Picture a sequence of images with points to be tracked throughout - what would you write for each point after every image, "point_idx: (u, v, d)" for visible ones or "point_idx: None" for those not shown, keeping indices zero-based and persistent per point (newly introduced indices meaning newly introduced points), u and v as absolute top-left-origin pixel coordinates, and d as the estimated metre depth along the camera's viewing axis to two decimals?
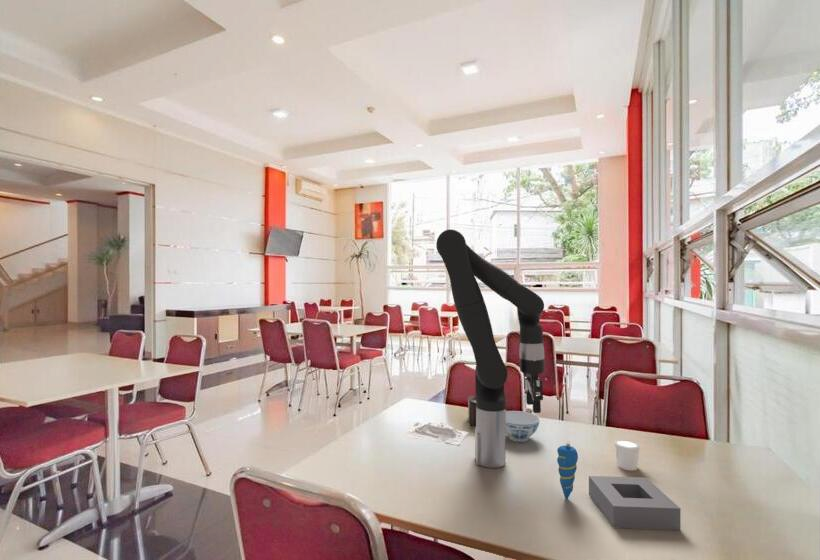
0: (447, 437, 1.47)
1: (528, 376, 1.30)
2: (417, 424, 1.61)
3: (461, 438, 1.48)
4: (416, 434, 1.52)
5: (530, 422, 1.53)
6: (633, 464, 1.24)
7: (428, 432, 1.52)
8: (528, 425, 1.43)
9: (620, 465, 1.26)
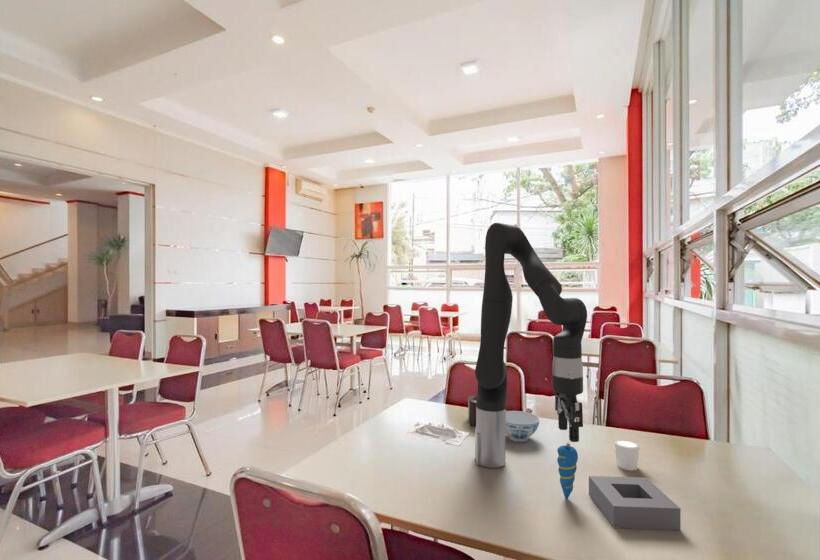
0: (448, 438, 1.47)
1: (562, 396, 1.09)
2: (418, 424, 1.61)
3: (462, 438, 1.48)
4: (416, 434, 1.51)
5: (530, 422, 1.53)
6: (633, 464, 1.24)
7: (429, 432, 1.51)
8: (528, 425, 1.43)
9: (620, 465, 1.26)
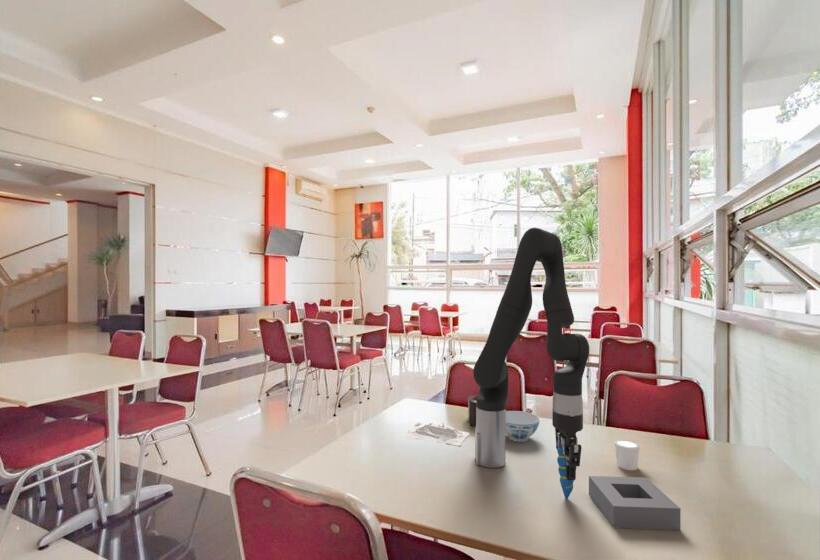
0: (448, 438, 1.47)
1: (562, 432, 1.08)
2: (418, 424, 1.60)
3: (462, 439, 1.47)
4: (417, 434, 1.51)
5: (530, 422, 1.53)
6: (633, 464, 1.24)
7: (429, 432, 1.51)
8: (528, 425, 1.43)
9: (620, 465, 1.26)
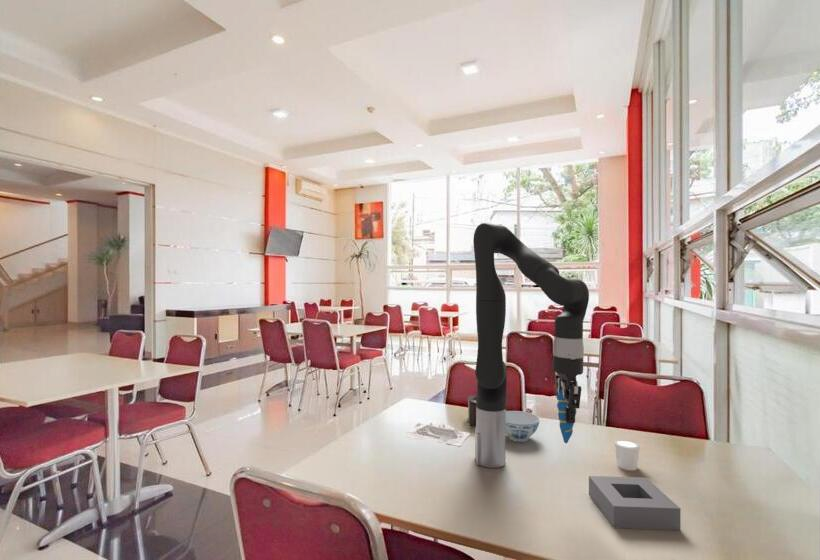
0: (449, 438, 1.47)
1: (562, 377, 1.09)
2: (419, 425, 1.60)
3: (463, 439, 1.47)
4: (417, 435, 1.51)
5: (530, 422, 1.53)
6: (633, 464, 1.24)
7: (429, 433, 1.51)
8: (528, 425, 1.43)
9: (620, 465, 1.26)
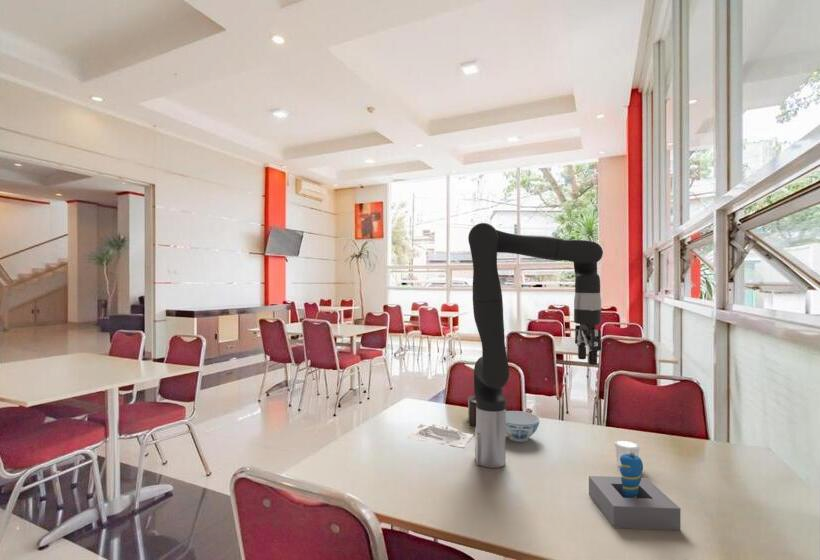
0: (452, 440, 1.45)
1: (582, 328, 1.24)
2: (421, 426, 1.59)
3: (466, 440, 1.46)
4: (420, 436, 1.50)
5: (530, 422, 1.53)
6: None
7: (432, 434, 1.50)
8: (528, 425, 1.43)
9: (620, 465, 1.26)
